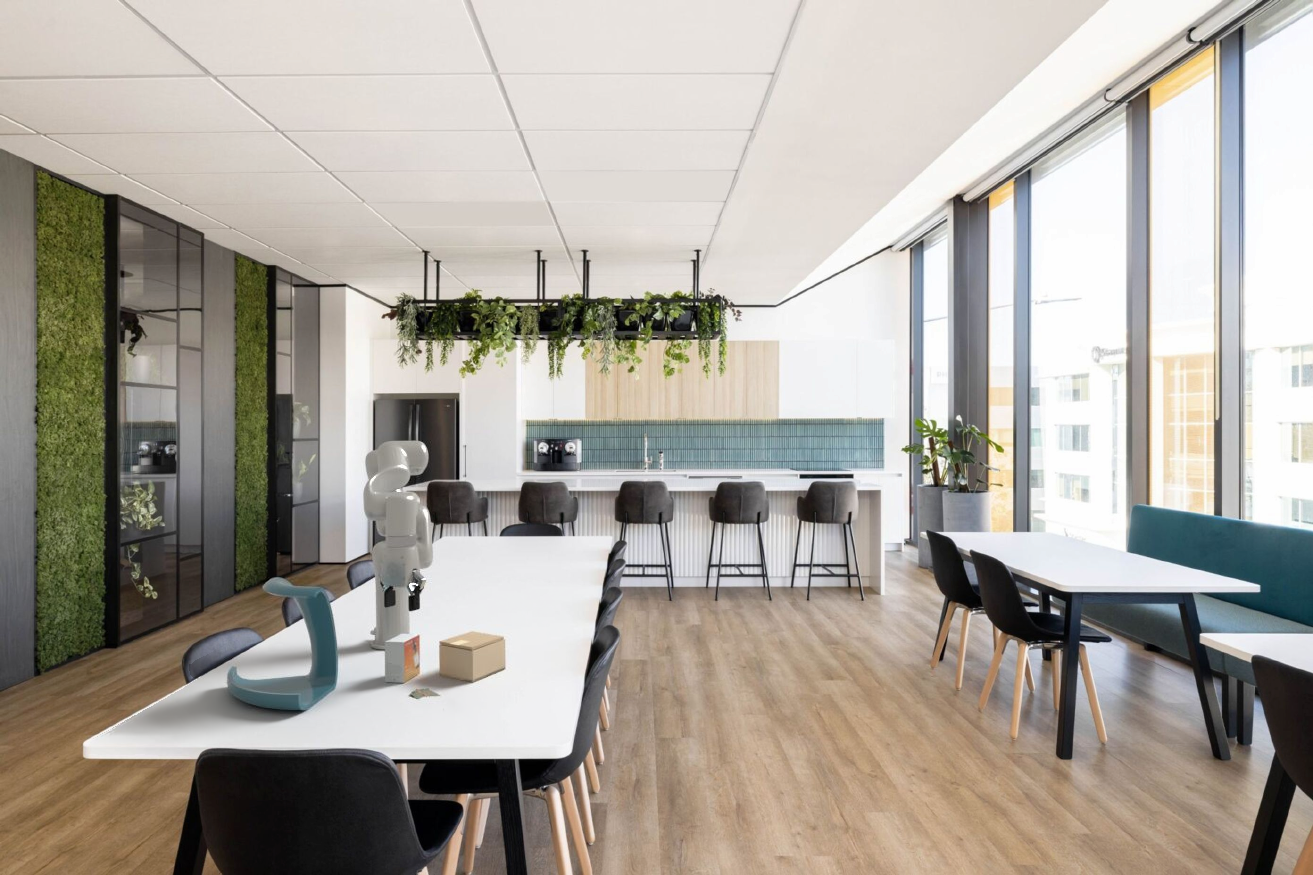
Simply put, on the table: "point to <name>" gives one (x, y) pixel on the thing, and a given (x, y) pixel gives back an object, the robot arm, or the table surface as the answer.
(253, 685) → the headphone stand
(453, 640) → the lid
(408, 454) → the robot arm
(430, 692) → the map
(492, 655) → the carton
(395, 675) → the small box
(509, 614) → the table surface
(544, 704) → the table surface
